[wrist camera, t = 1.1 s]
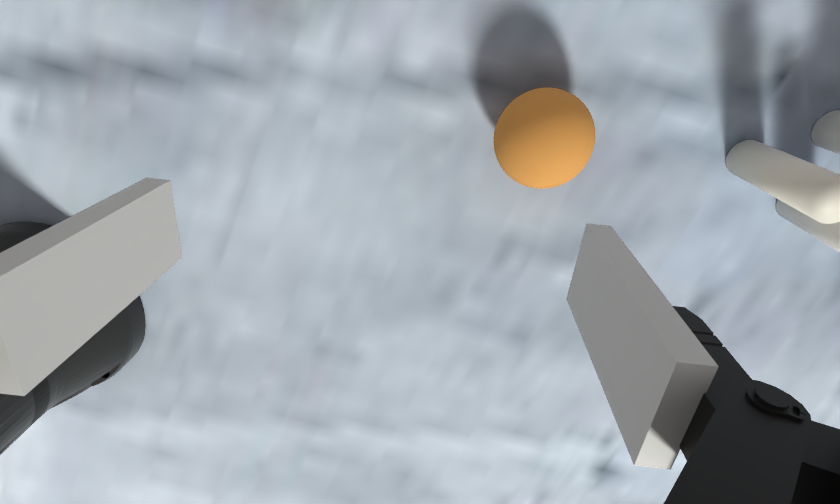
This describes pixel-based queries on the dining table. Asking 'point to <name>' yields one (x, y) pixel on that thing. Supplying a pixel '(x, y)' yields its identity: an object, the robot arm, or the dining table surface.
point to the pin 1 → (811, 225)
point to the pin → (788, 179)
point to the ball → (544, 137)
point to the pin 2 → (827, 131)
